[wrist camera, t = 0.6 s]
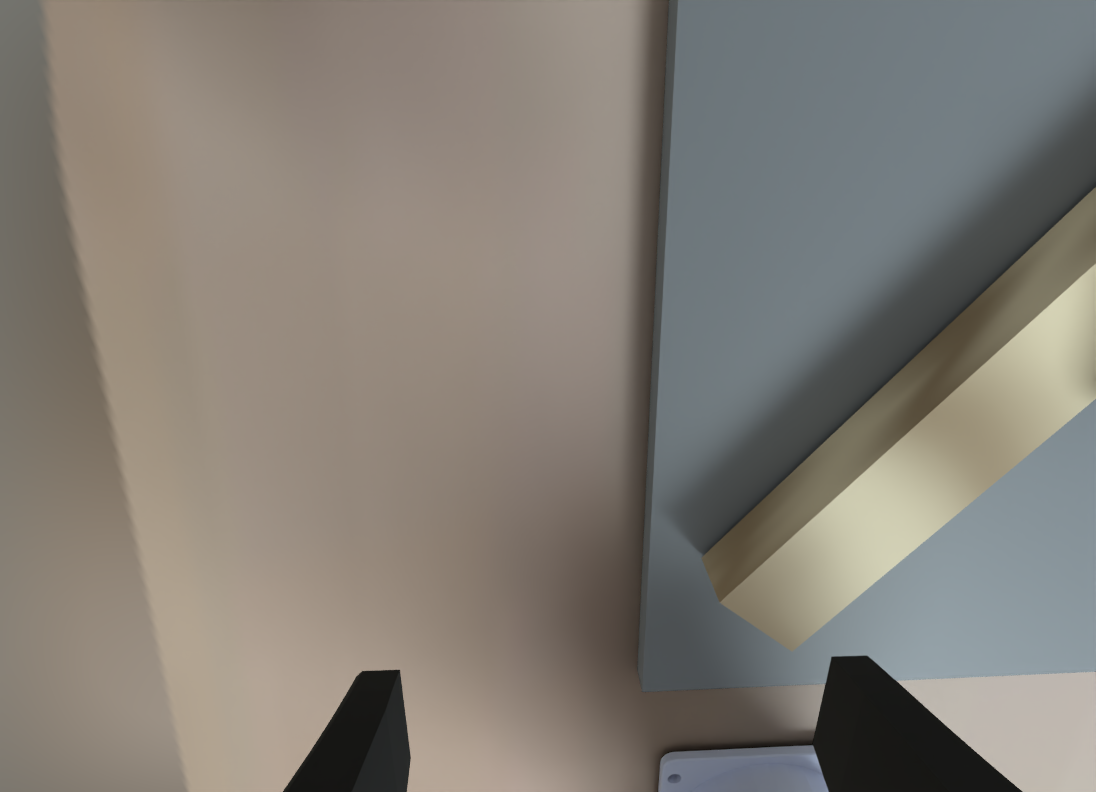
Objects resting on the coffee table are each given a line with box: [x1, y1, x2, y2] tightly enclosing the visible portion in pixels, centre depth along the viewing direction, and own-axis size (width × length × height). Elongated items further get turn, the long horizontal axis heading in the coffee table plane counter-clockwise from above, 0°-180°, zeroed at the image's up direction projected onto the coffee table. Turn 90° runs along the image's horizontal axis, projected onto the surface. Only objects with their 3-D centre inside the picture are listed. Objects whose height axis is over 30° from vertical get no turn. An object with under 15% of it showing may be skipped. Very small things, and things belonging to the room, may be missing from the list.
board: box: [637, 0, 1096, 692], centre depth 19 cm, size 21×18×1 cm
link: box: [702, 187, 1096, 651], centre depth 16 cm, size 18×4×3 cm, turn 141°
